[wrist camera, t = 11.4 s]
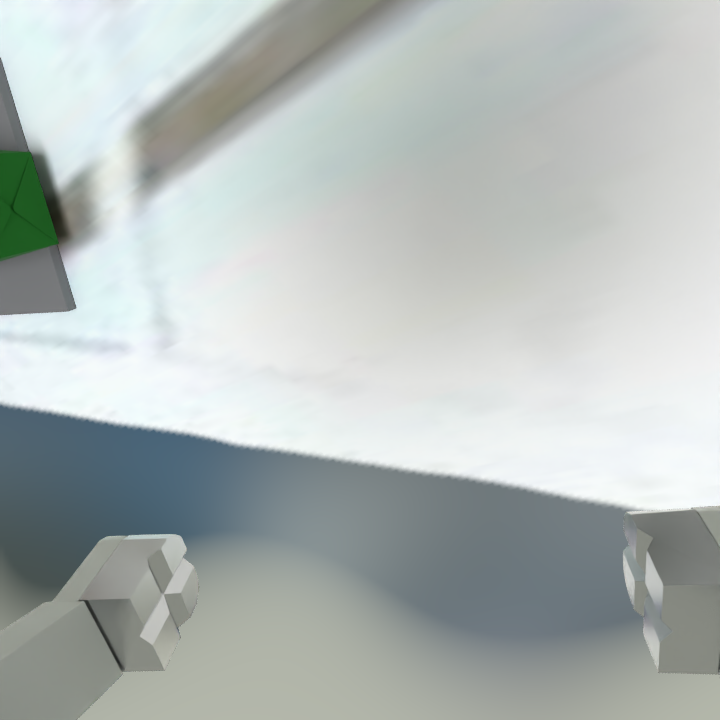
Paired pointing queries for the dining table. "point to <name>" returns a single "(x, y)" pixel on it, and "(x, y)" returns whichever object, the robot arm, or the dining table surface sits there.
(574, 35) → the dining table surface
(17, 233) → the soya milk
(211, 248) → the dining table surface
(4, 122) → the mat
